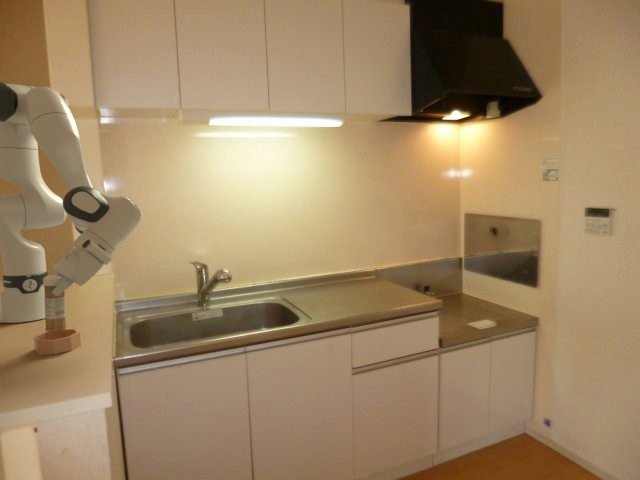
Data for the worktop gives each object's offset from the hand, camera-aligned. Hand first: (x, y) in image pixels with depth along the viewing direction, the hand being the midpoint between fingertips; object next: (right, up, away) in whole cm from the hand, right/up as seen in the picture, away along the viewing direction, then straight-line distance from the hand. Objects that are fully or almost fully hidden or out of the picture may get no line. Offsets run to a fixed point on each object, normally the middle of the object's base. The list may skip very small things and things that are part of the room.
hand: (51, 292), depth 105 cm
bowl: (+1, -14, +2) cm, 14 cm away
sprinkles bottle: (0, -10, +1) cm, 10 cm away
